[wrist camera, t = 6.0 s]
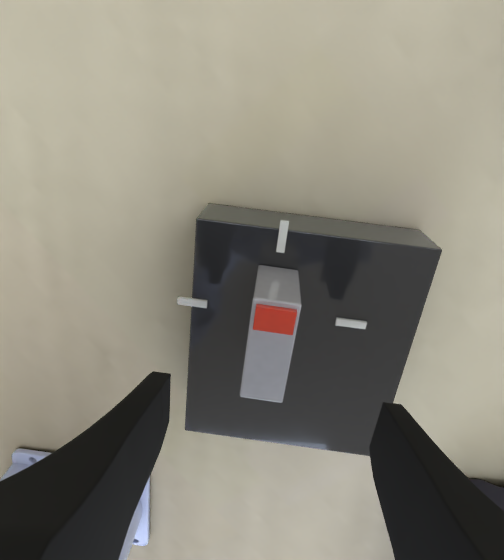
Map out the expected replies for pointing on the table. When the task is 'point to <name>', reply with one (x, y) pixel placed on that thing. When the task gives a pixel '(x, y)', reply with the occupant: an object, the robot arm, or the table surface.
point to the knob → (271, 333)
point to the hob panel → (305, 323)
